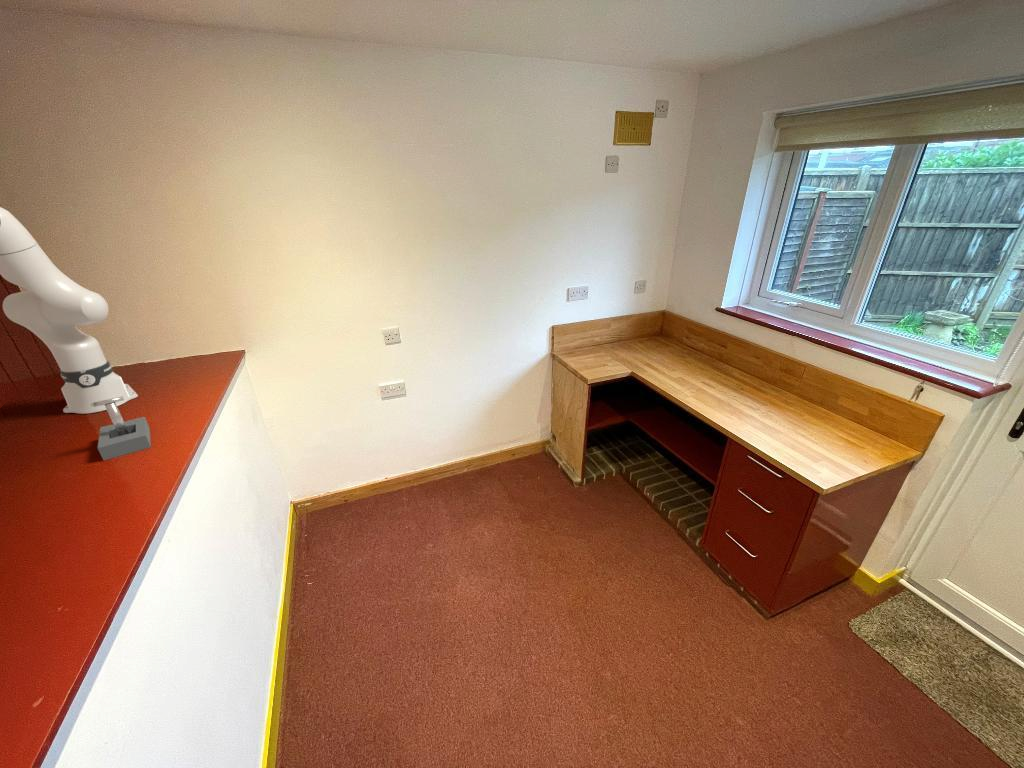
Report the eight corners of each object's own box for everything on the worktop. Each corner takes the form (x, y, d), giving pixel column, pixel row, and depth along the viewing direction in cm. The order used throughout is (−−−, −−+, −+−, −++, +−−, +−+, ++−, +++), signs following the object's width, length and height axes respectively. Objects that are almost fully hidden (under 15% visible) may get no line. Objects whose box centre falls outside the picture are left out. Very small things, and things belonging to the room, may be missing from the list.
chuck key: (111, 444, 119) (90, 400, 113) (141, 436, 123) (122, 393, 117) (111, 451, 116) (89, 406, 110) (141, 442, 120) (122, 399, 114)
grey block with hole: (105, 439, 122) (100, 427, 120) (149, 427, 127) (144, 416, 126) (103, 460, 112) (97, 448, 110) (150, 447, 118) (145, 435, 116)
